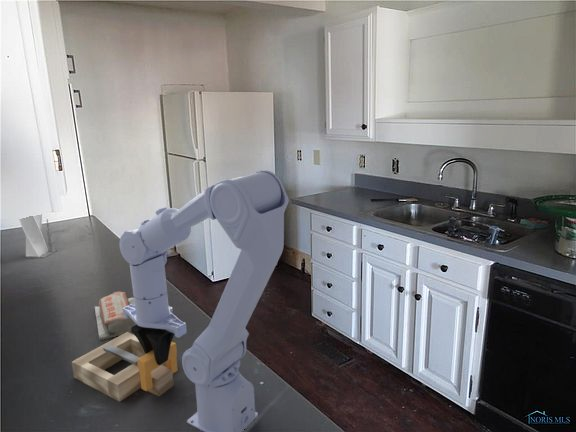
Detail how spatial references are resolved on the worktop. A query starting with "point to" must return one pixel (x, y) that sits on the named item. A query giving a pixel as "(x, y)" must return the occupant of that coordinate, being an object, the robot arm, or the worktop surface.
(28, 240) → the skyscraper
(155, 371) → the wooden cube
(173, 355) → the wooden block
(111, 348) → the birch drawer
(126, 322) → the packaged product
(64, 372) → the worktop surface
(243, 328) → the robot arm
